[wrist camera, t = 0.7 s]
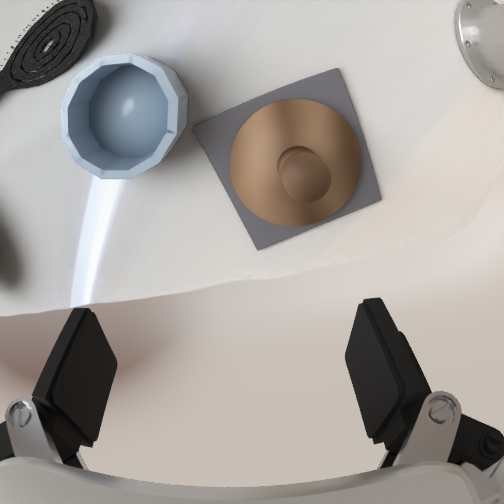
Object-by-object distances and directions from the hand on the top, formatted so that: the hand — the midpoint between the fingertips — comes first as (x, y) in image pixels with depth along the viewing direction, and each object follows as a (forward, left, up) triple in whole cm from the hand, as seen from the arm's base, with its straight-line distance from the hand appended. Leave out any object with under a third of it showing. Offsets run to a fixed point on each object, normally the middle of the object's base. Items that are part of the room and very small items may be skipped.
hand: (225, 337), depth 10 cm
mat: (-6, +3, -22) cm, 23 cm away
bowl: (+6, -9, -22) cm, 25 cm away
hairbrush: (+17, -22, -23) cm, 36 cm away
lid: (-6, +3, -22) cm, 23 cm away
